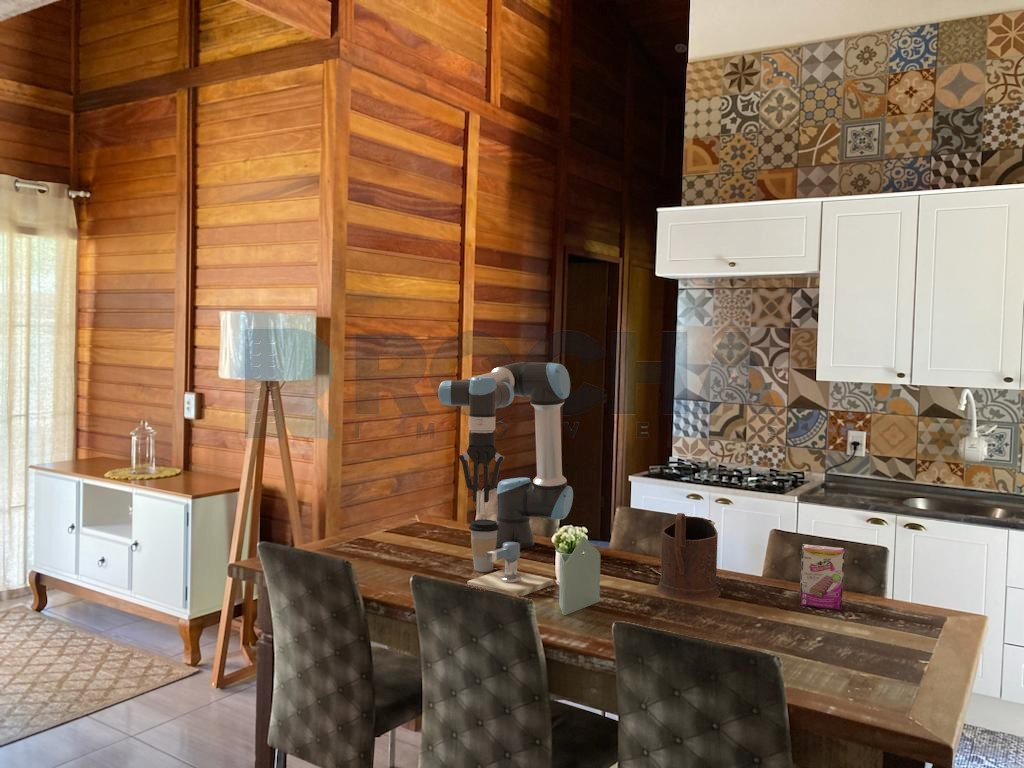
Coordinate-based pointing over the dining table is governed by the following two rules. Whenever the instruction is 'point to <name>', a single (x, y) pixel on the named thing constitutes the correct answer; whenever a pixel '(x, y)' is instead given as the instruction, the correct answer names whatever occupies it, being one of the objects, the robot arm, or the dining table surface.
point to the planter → (579, 578)
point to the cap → (505, 552)
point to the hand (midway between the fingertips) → (480, 513)
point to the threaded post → (510, 572)
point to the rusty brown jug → (689, 559)
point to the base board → (521, 588)
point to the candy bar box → (822, 576)
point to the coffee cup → (483, 543)
